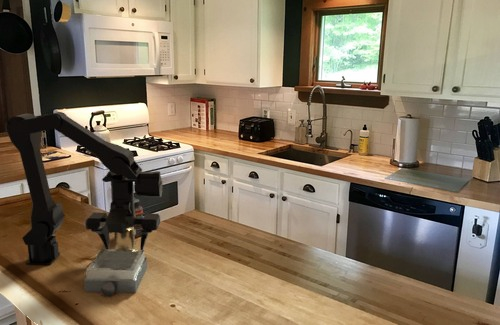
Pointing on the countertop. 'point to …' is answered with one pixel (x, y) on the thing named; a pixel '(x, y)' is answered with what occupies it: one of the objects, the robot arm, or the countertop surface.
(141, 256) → the grey open box
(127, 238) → the spout can
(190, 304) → the countertop surface
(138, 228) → the supplement bottle
